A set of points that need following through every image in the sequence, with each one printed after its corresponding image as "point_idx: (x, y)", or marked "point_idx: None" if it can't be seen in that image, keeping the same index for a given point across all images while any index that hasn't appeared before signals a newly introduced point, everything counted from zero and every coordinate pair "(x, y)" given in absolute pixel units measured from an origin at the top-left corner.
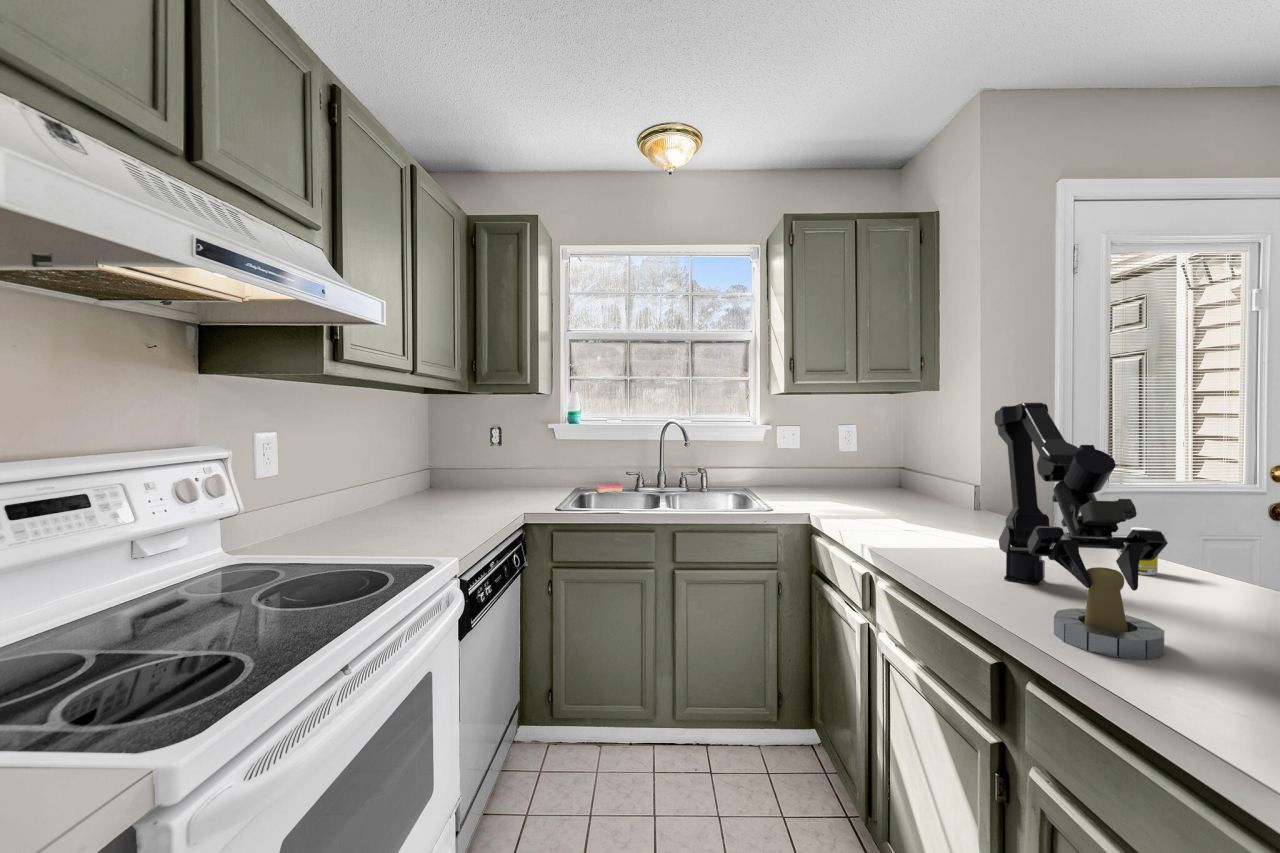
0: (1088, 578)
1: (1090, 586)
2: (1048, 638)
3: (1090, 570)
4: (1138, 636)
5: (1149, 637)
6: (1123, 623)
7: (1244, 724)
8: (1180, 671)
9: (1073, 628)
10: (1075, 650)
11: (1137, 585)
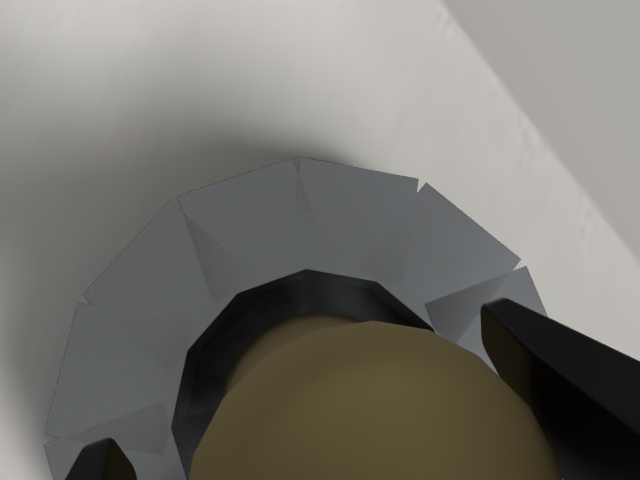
0: (529, 331)
1: (482, 317)
2: (549, 294)
3: (540, 475)
4: (198, 247)
5: (149, 256)
6: (245, 363)
7: None
8: (93, 153)
9: (481, 227)
10: (446, 190)
11: (79, 456)
